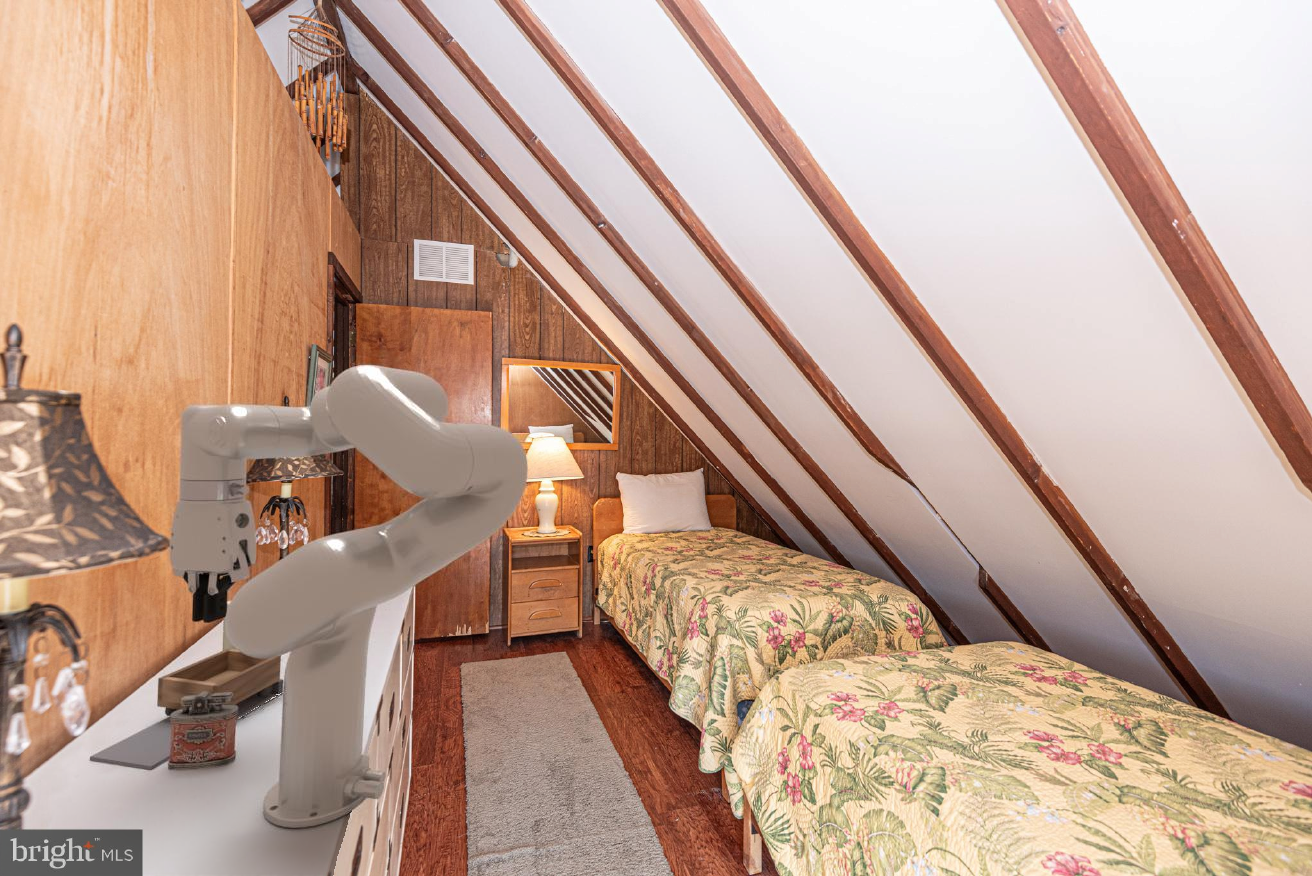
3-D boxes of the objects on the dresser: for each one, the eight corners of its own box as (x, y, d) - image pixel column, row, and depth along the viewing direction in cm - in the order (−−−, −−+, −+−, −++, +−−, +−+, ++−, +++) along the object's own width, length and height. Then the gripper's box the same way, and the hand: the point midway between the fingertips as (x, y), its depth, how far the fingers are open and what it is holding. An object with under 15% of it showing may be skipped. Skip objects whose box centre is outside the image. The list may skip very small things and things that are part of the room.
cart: (279, 692, 102) (280, 655, 101) (215, 728, 89) (217, 686, 89) (226, 685, 103) (228, 648, 103) (156, 720, 91) (158, 678, 90)
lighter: (162, 772, 79) (165, 701, 79) (175, 758, 82) (178, 690, 82) (229, 766, 81) (232, 697, 81) (240, 753, 85) (243, 686, 84)
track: (282, 693, 103) (283, 679, 103) (151, 769, 80) (151, 752, 80) (233, 686, 104) (234, 673, 104) (89, 760, 81) (90, 742, 81)
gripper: (282, 491, 84) (278, 615, 84) (191, 486, 86) (187, 607, 86) (238, 497, 77) (234, 633, 77) (139, 491, 79) (136, 623, 79)
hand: (209, 618), depth 82 cm, fingers closed
